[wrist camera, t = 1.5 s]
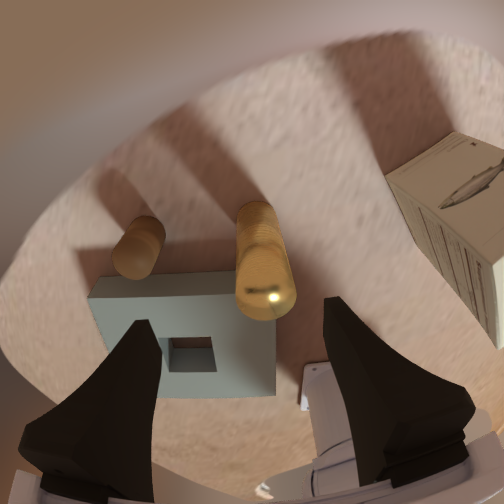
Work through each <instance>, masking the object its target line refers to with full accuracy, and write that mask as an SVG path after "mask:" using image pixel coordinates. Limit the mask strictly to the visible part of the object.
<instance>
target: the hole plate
mask: <svg viewBox="0 0 504 504" xmlns="http://www.w3.org/2000/svg"><path fill="white" fill-rule="evenodd" d="M87 300H88V303H89V305H90V308H91V311H92V313H93V316H94V318H95V321H96V323H97V326H98V328H99V330H100V333H101V335H102V337H103V340H104V342H105V344H106V347H107V349H108V351H109V353H110V352H111V351H112V350H113V348H114V347H115V346H116V345H117V343H118V342H119V341H120V339H121V338H122V337H123V335H124V334H125V333H126V331H127V330H128V329H129V327H130V326H131V325H132V323H133V322H134V321H135V320H142V319H149V322H150V324H151V326H152V329H153V331H154V334H155V336H156V338H157V341H158V343H159V345H160V347H161V350H162V352H163V354H162V371H161V378H160V383H159V389H158V394H157V398H243V397H262V396H276V319H274V320H268V321H261V320H255V319H252V318H250V317H248V316H246V315H245V314H243V313H242V312H241V311H240V309H239V308H238V306H237V303H236V270H233V271H215V272H196V273H176V274H154V275H148V276H147V277H145V278H143V279H140V280H132V279H128V278H126V277H124V276H108V277H99V279H98V281H97V282H96V284H95V286H94V287H93V289H92V291H91V292H90V294H89V296H88V297H87ZM171 337H211V340H212V345H213V348H174V347H173V344H172V340H171Z"/></svg>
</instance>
